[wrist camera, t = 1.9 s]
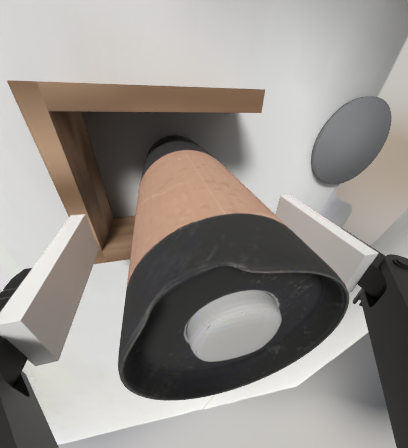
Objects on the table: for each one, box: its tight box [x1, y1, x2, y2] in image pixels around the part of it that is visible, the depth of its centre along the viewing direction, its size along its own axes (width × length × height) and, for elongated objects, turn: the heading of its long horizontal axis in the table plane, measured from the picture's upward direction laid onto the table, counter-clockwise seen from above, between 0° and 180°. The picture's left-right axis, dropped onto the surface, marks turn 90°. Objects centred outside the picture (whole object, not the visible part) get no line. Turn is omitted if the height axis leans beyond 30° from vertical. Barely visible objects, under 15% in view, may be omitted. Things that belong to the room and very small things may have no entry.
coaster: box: [311, 97, 391, 184], centre depth 25 cm, size 11×11×1 cm
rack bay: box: [7, 81, 265, 264], centre depth 19 cm, size 15×16×6 cm
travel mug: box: [118, 136, 349, 400], centre depth 14 cm, size 8×8×20 cm
